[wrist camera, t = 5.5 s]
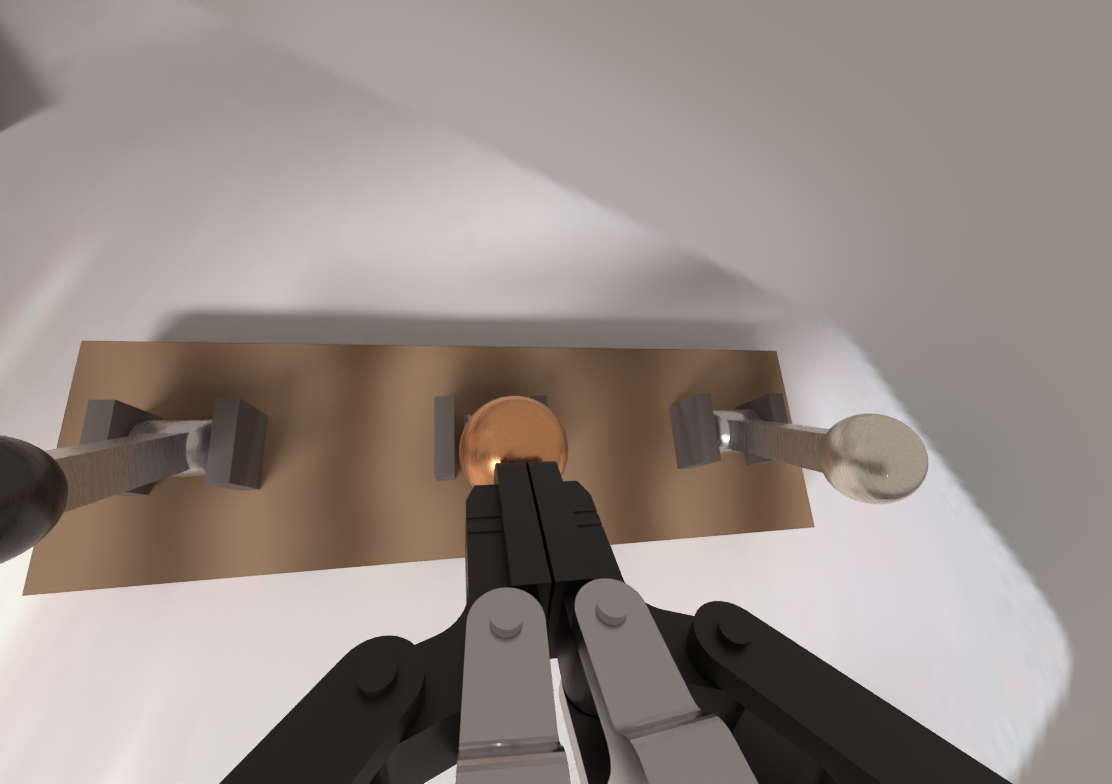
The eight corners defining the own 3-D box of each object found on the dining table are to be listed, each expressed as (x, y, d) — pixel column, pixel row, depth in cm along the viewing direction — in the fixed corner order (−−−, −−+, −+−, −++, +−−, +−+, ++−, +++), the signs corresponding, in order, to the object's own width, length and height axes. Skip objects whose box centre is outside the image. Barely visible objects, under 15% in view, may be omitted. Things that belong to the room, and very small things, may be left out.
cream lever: (690, 458, 24) (873, 518, 13) (691, 401, 24) (875, 418, 13) (741, 456, 24) (952, 512, 14) (742, 400, 24) (954, 416, 14)
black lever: (155, 482, 19) (-221, 612, 8) (153, 408, 18) (-230, 445, 8) (238, 478, 19) (-13, 594, 9) (236, 407, 19) (-18, 440, 9)
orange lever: (456, 471, 21) (460, 519, 11) (456, 406, 21) (459, 393, 11) (521, 468, 22) (582, 511, 11) (519, 405, 22) (579, 392, 12)
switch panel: (84, 586, 19) (-60, 607, 14) (128, 364, 22) (23, 311, 17) (776, 527, 27) (858, 526, 21) (745, 367, 30) (811, 331, 24)
